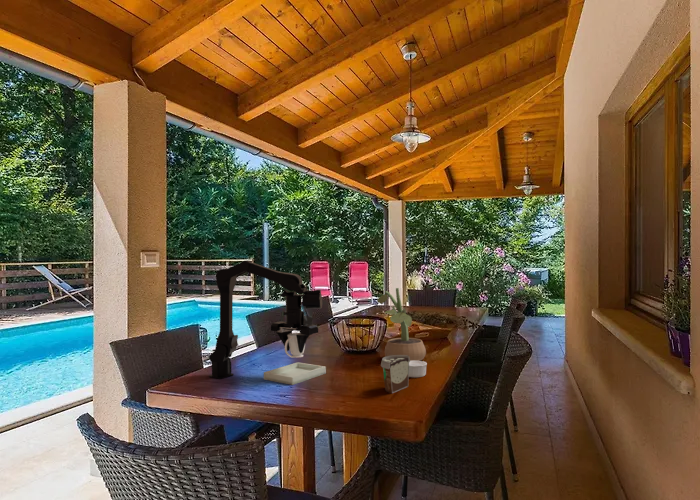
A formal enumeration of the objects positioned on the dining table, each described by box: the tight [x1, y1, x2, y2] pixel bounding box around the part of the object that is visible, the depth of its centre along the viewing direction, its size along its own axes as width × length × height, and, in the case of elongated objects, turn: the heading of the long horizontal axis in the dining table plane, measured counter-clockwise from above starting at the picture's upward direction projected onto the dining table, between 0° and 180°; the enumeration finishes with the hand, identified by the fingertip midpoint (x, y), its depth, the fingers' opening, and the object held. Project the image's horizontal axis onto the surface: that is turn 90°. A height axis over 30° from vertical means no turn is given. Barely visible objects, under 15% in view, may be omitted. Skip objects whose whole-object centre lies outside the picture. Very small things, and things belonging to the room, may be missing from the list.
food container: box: [380, 355, 410, 394], centre depth 155 cm, size 12×6×10 cm, turn 141°
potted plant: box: [376, 287, 427, 361], centre depth 194 cm, size 22×18×30 cm
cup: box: [284, 332, 306, 359], centre depth 173 cm, size 7×10×8 cm
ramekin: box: [409, 360, 428, 378], centre depth 171 cm, size 9×9×4 cm
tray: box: [263, 361, 327, 386], centre depth 173 cm, size 18×14×2 cm
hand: (294, 351), depth 173 cm, fingers closed on cup, 6 cm apart
